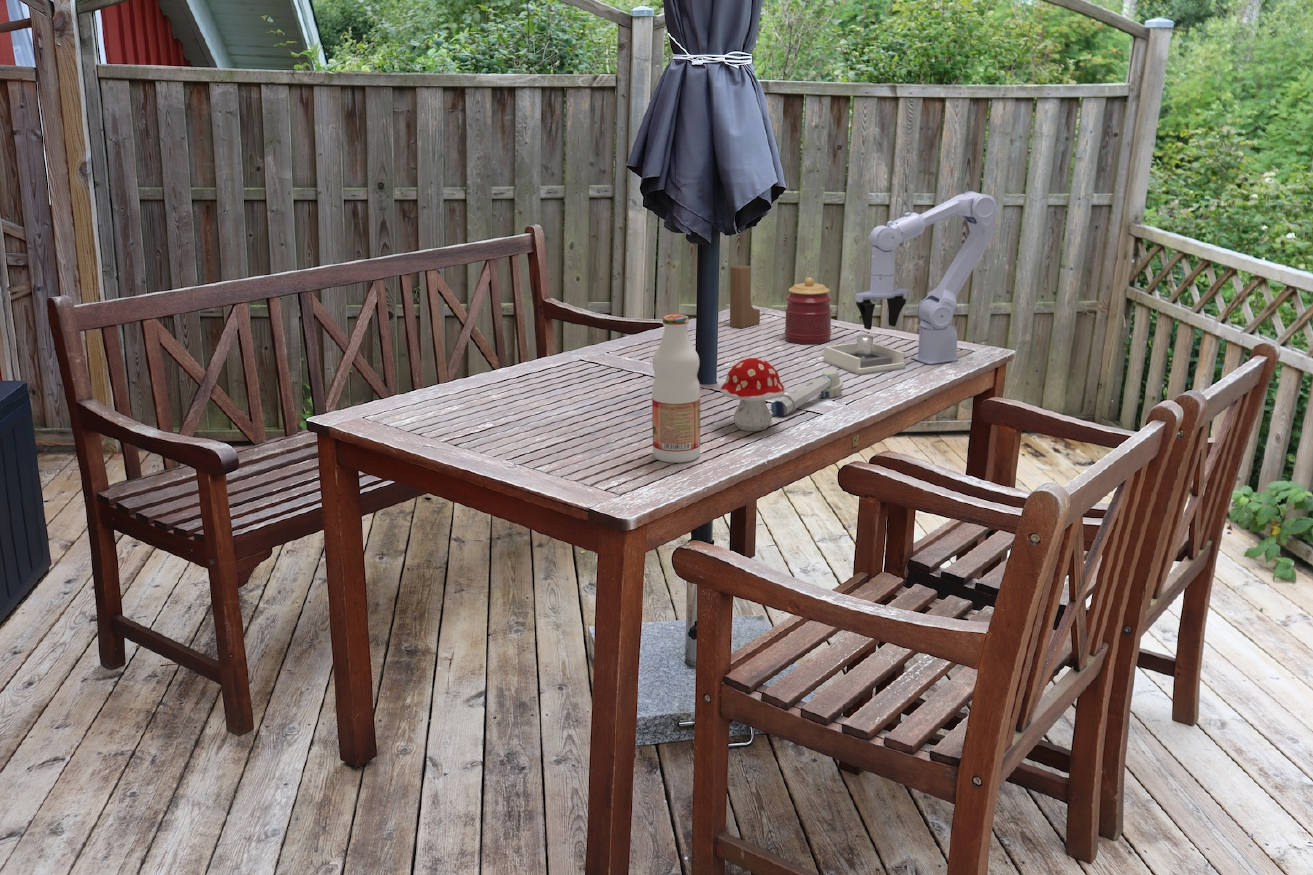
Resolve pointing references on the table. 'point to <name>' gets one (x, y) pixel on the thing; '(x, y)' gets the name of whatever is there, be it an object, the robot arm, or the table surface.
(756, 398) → the decorative mushroom
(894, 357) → the walled box
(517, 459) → the table surface
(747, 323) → the wooden block
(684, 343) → the fruit juice
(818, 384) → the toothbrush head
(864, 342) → the metal plug
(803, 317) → the canister
